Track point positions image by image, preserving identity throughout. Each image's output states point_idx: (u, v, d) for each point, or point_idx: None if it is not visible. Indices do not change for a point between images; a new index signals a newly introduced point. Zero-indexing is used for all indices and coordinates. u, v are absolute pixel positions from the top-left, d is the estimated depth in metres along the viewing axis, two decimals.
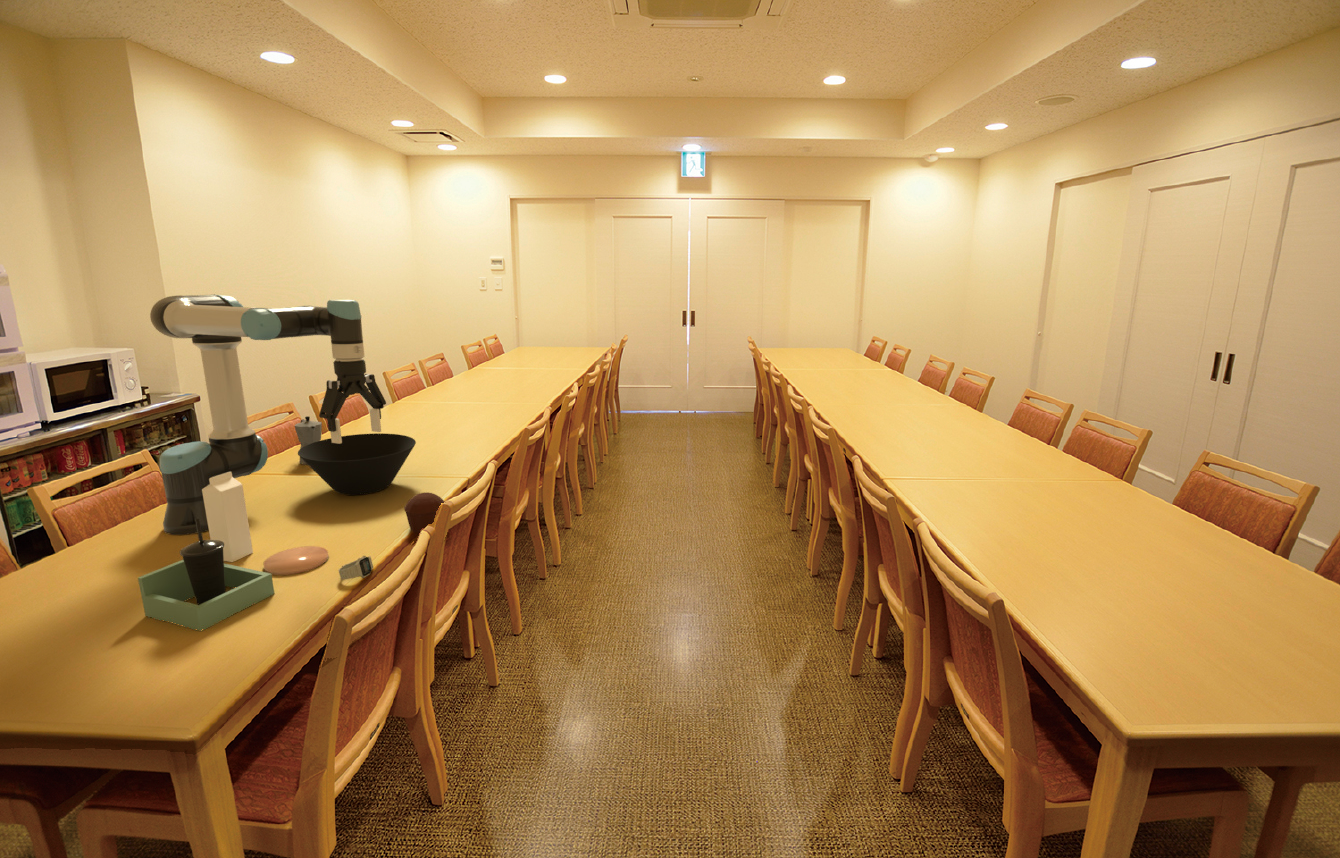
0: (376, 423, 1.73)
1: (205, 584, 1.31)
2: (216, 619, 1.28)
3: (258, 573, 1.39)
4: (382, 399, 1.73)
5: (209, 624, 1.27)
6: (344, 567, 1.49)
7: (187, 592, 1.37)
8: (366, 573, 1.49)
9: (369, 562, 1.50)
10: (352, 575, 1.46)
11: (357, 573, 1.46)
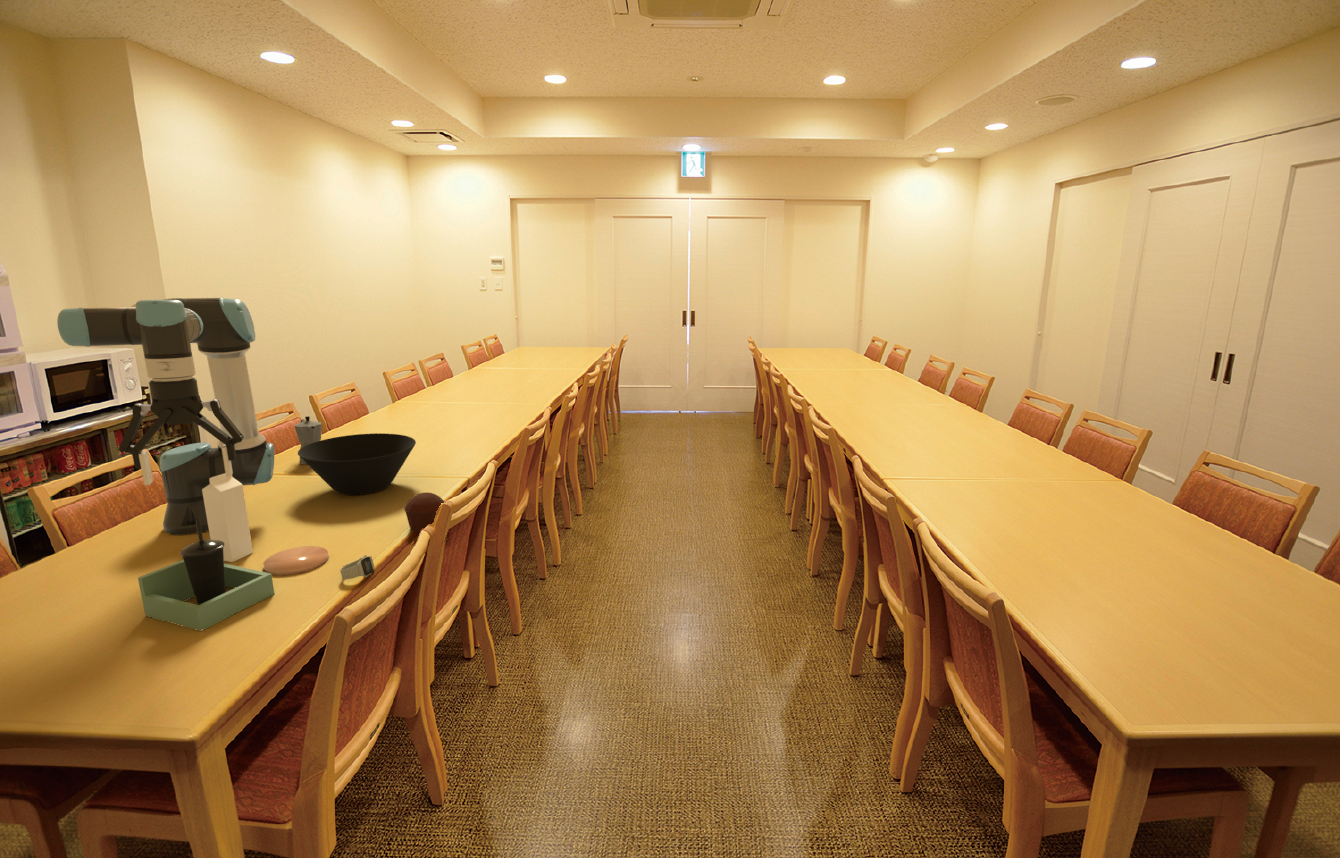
0: None
1: (205, 584, 1.31)
2: (216, 619, 1.28)
3: (258, 573, 1.39)
4: (235, 435, 1.29)
5: (209, 624, 1.27)
6: (345, 567, 1.49)
7: (187, 592, 1.37)
8: (368, 573, 1.49)
9: (370, 562, 1.51)
10: (353, 575, 1.46)
11: (359, 573, 1.47)
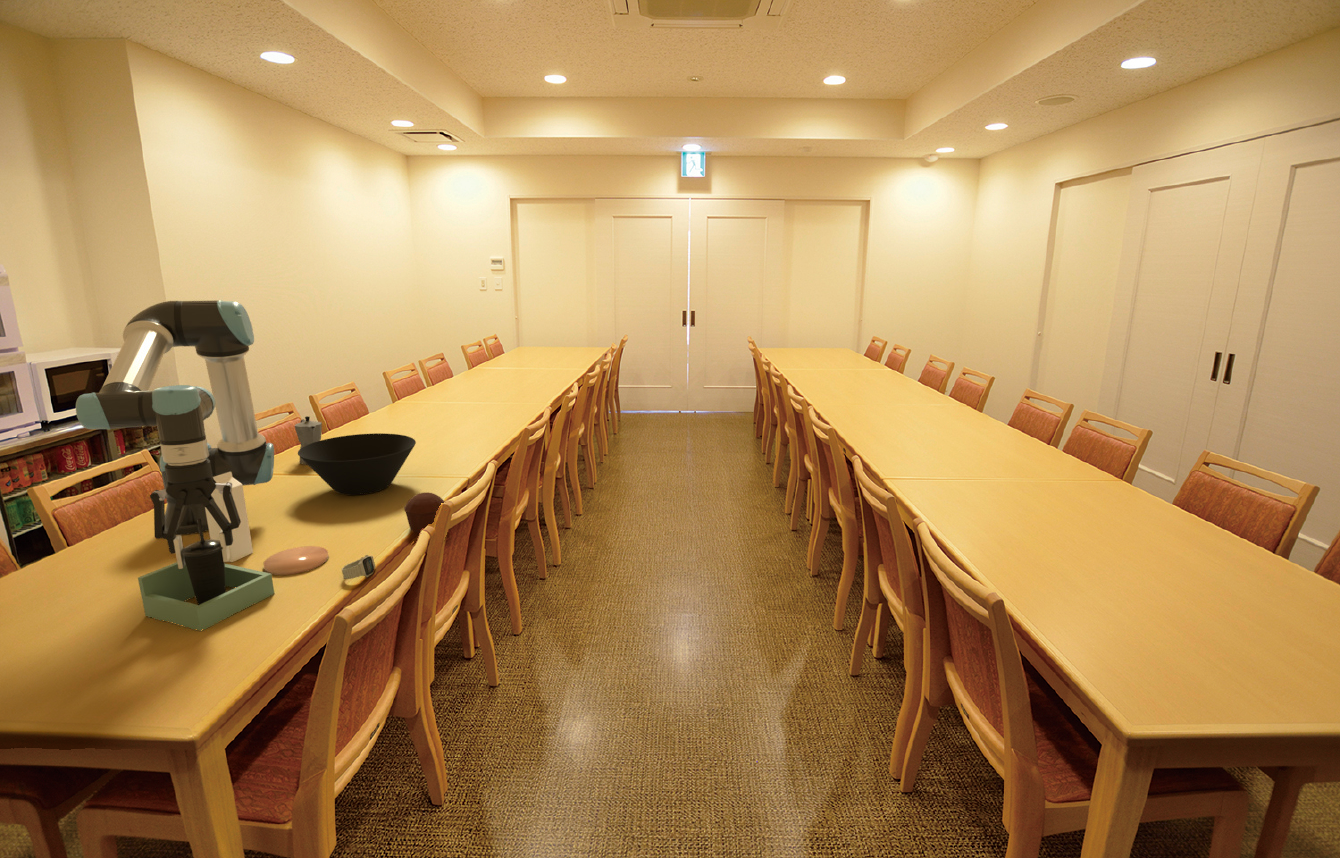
0: None
1: (206, 584, 1.31)
2: (216, 619, 1.28)
3: (258, 573, 1.39)
4: (234, 521, 1.32)
5: (209, 624, 1.27)
6: (346, 567, 1.49)
7: (187, 592, 1.37)
8: (369, 572, 1.49)
9: (372, 561, 1.51)
10: (355, 575, 1.46)
11: (360, 572, 1.47)
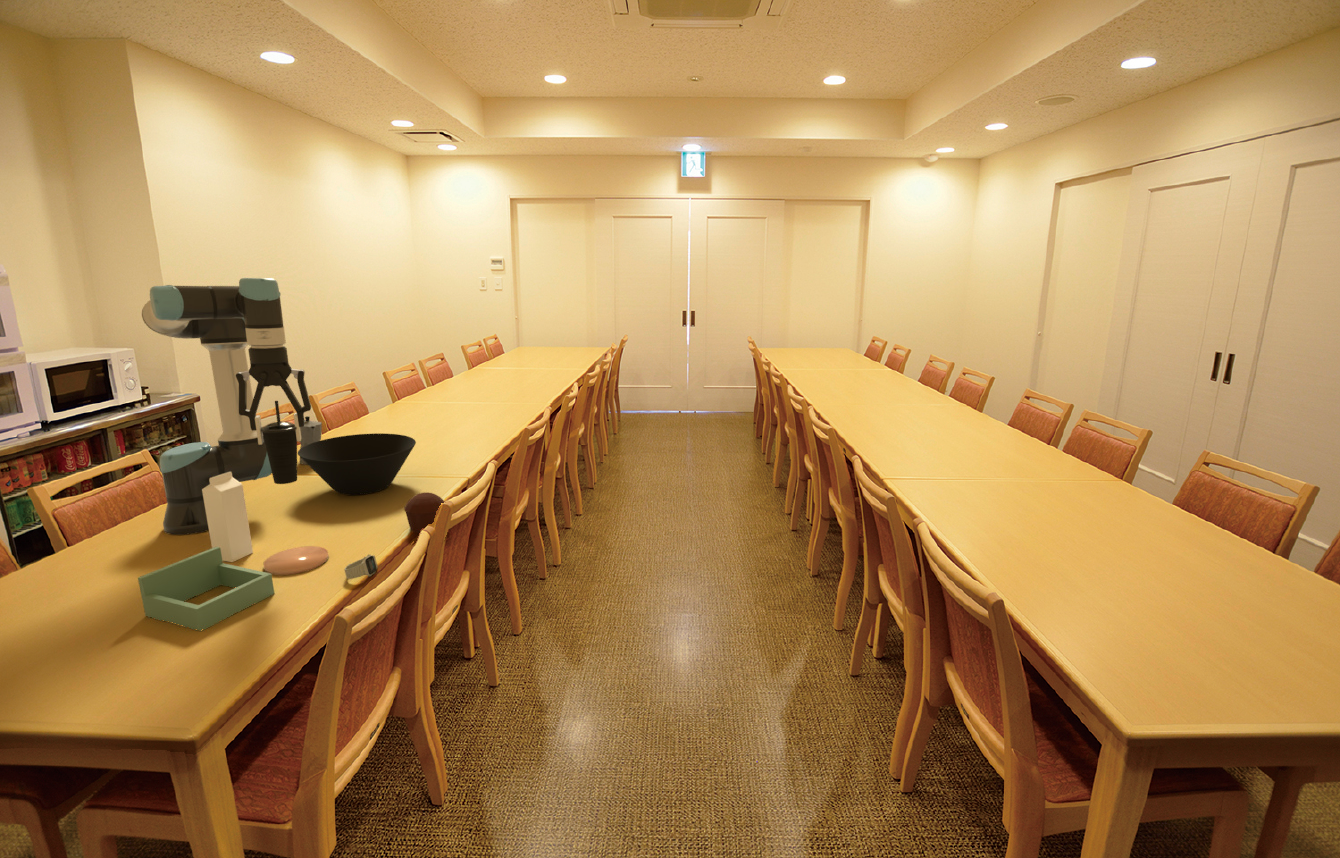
0: (296, 431, 1.49)
1: (282, 459, 1.47)
2: (216, 619, 1.28)
3: (258, 573, 1.39)
4: (306, 404, 1.48)
5: (209, 624, 1.27)
6: (349, 567, 1.49)
7: (187, 592, 1.37)
8: (372, 572, 1.50)
9: (374, 561, 1.51)
10: (358, 574, 1.46)
11: (363, 572, 1.47)
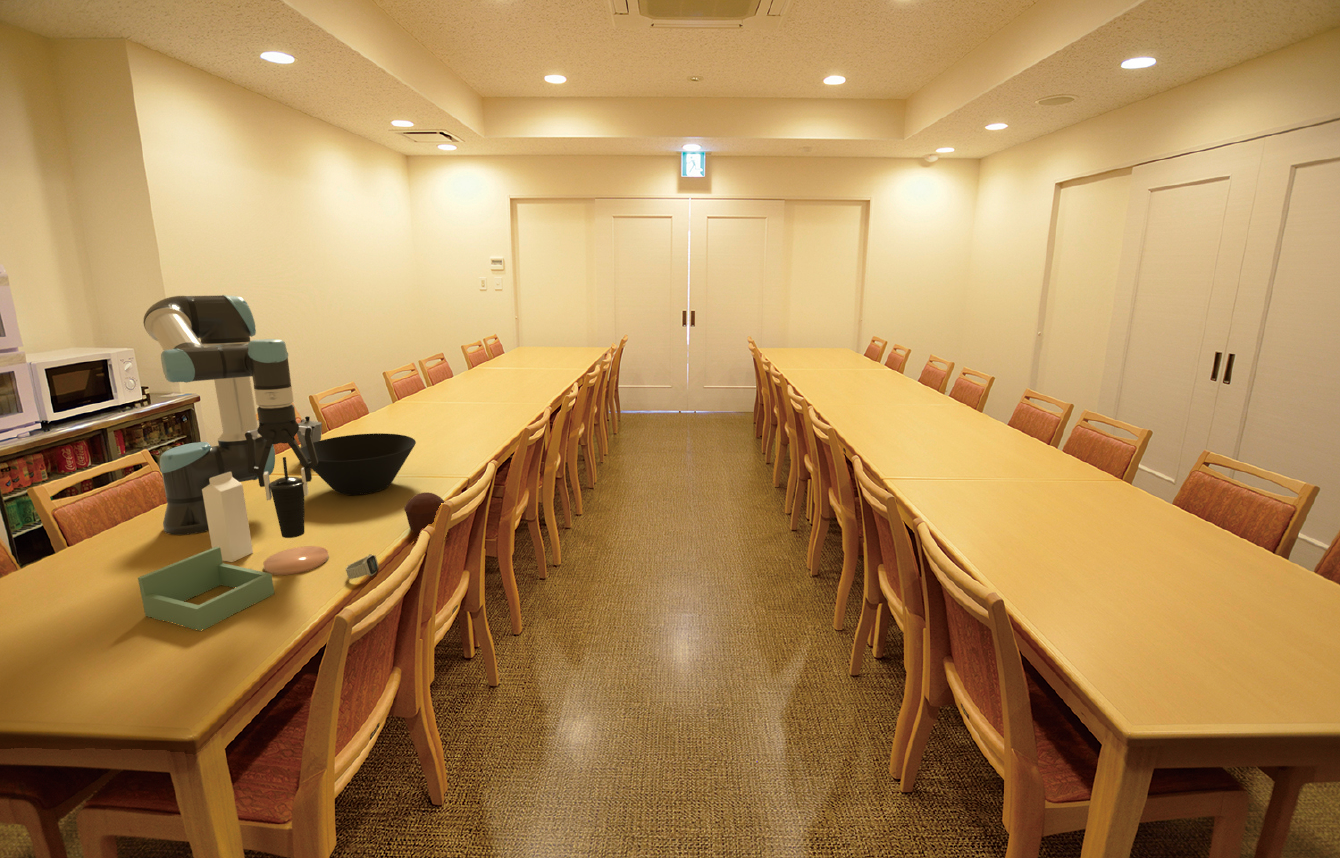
0: (303, 485, 1.52)
1: (290, 514, 1.50)
2: (216, 619, 1.28)
3: (258, 573, 1.39)
4: (313, 459, 1.51)
5: (209, 624, 1.27)
6: (350, 566, 1.49)
7: (187, 592, 1.37)
8: (373, 571, 1.50)
9: (375, 560, 1.51)
10: (360, 574, 1.46)
11: (365, 571, 1.47)
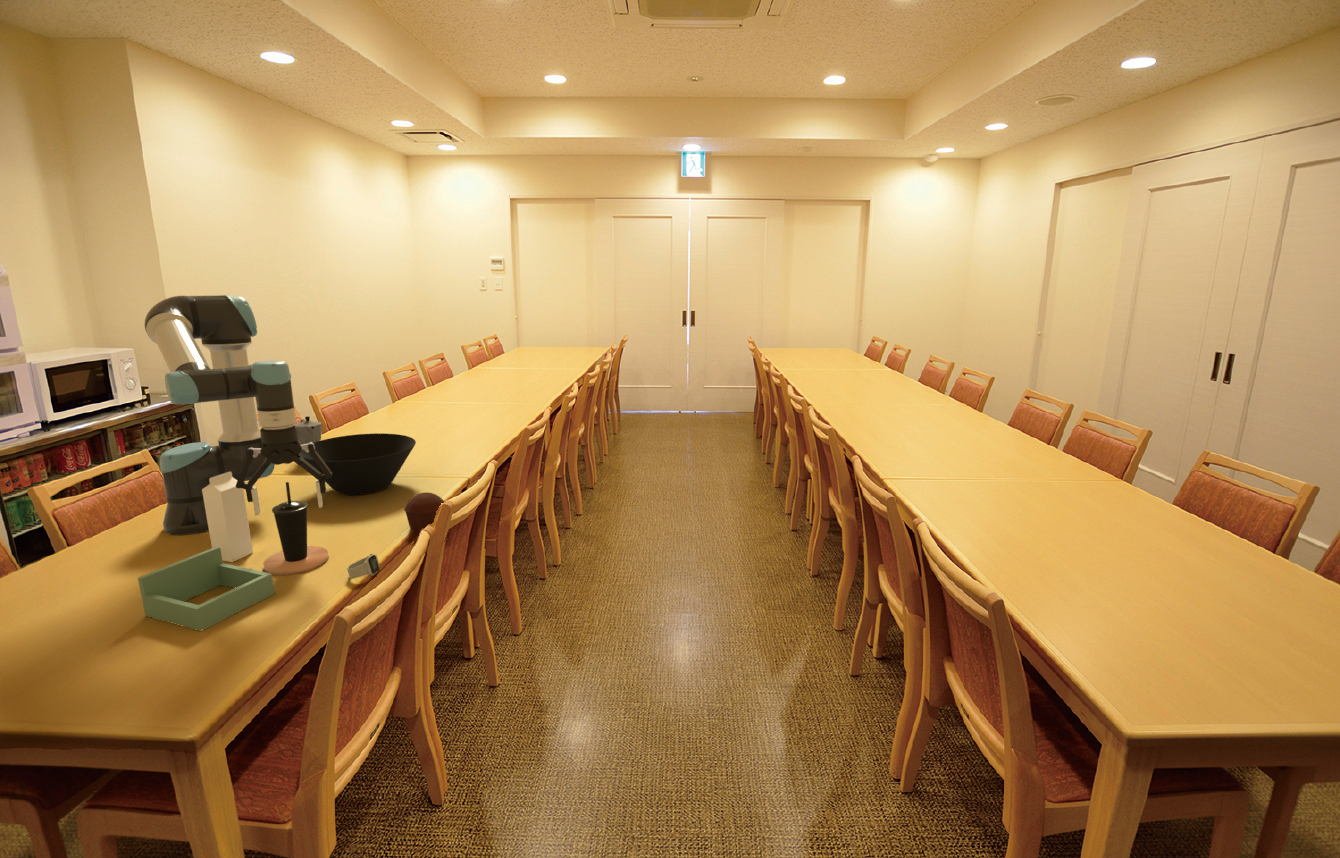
0: None
1: (292, 538, 1.51)
2: (216, 619, 1.28)
3: (258, 573, 1.39)
4: (326, 472, 1.53)
5: (209, 624, 1.27)
6: (351, 566, 1.49)
7: (187, 592, 1.37)
8: (374, 571, 1.50)
9: (376, 560, 1.52)
10: (362, 573, 1.47)
11: (367, 571, 1.47)
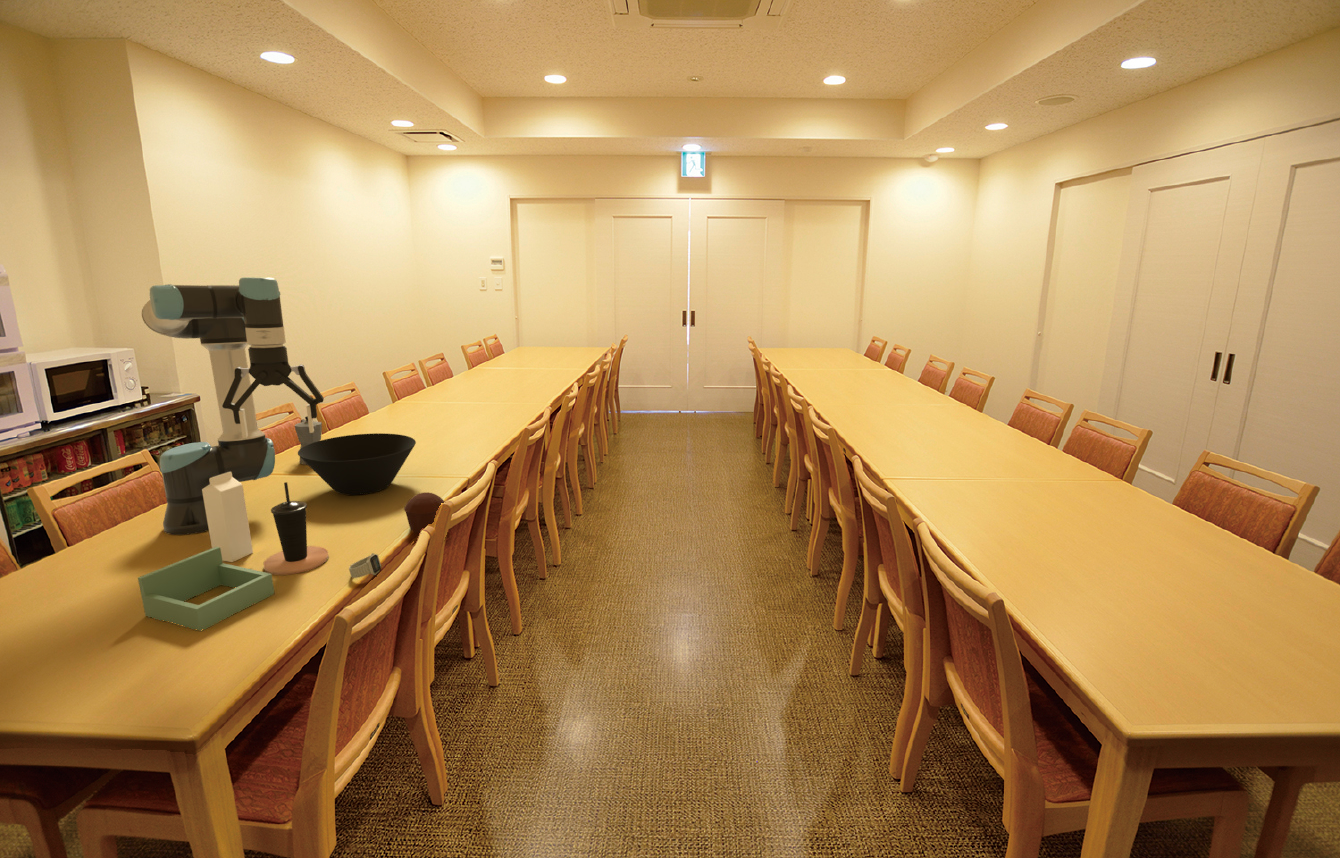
0: (308, 422, 1.49)
1: (292, 538, 1.51)
2: (216, 619, 1.28)
3: (258, 573, 1.39)
4: (317, 396, 1.49)
5: (209, 624, 1.27)
6: (353, 566, 1.50)
7: (187, 592, 1.37)
8: (376, 570, 1.50)
9: (378, 559, 1.52)
10: (364, 573, 1.47)
11: (369, 570, 1.48)
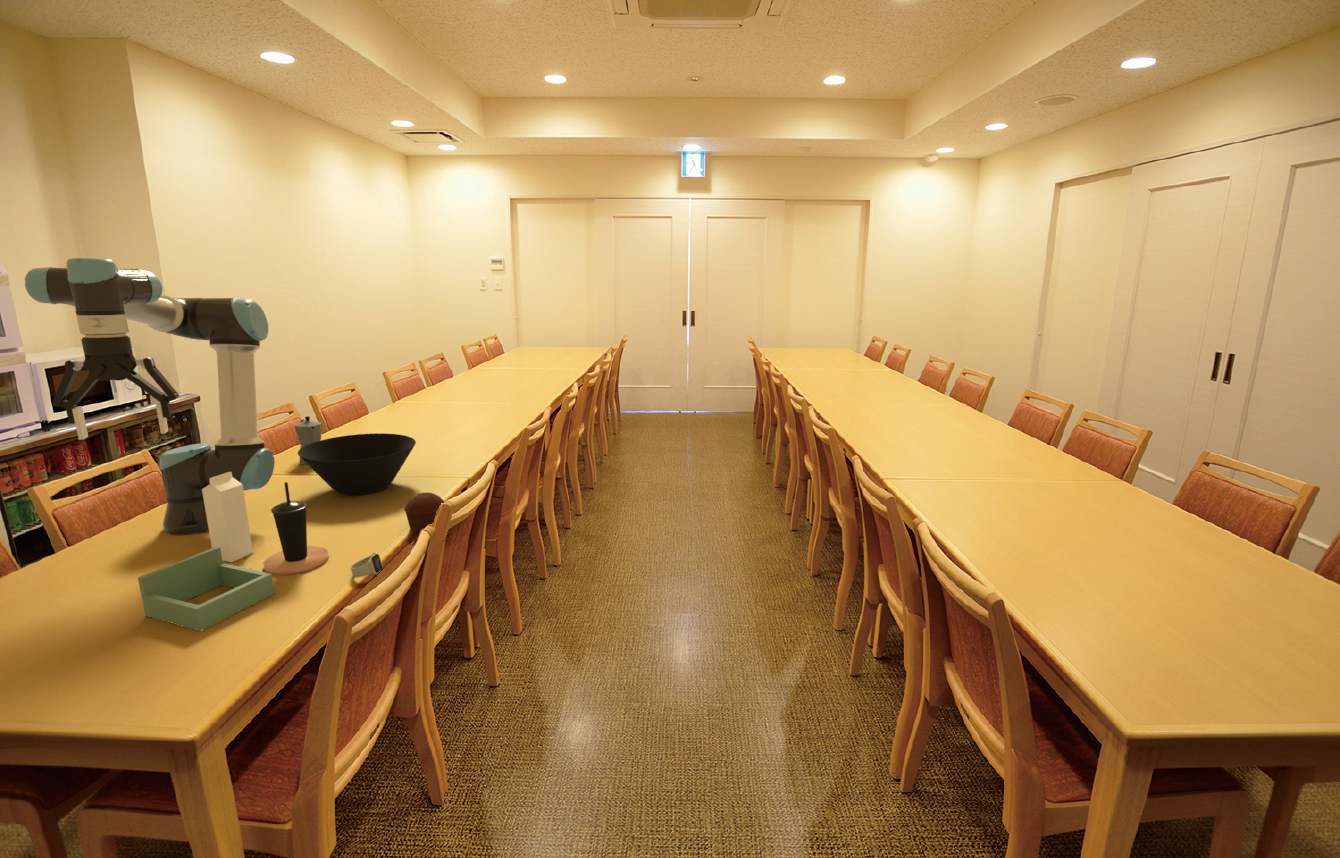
0: None
1: (292, 538, 1.51)
2: (216, 619, 1.28)
3: (258, 573, 1.39)
4: (169, 392, 1.33)
5: (209, 624, 1.27)
6: (354, 566, 1.50)
7: (187, 592, 1.37)
8: (378, 570, 1.50)
9: (379, 559, 1.52)
10: (366, 572, 1.47)
11: (371, 570, 1.48)
